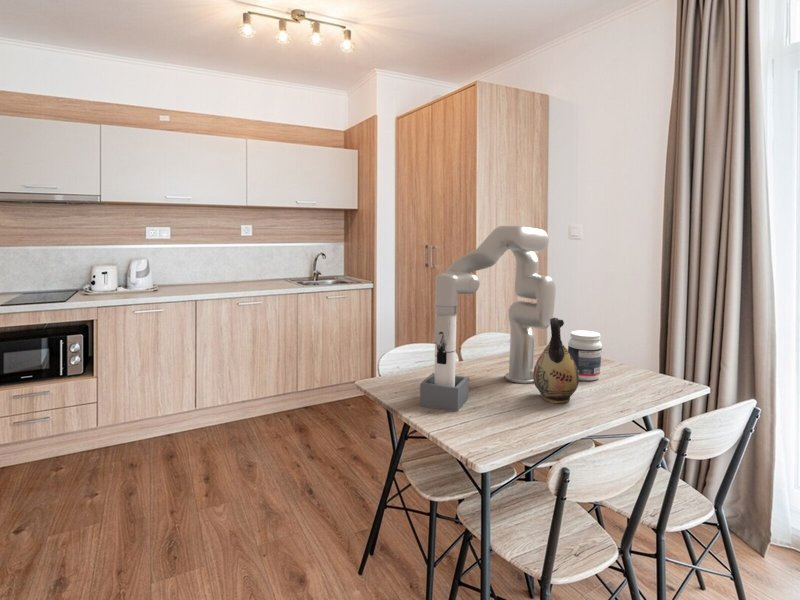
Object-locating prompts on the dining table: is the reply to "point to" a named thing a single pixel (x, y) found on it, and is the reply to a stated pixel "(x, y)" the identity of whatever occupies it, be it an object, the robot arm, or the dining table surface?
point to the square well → (444, 393)
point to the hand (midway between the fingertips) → (445, 360)
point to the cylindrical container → (447, 359)
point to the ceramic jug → (556, 369)
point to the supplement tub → (586, 353)
